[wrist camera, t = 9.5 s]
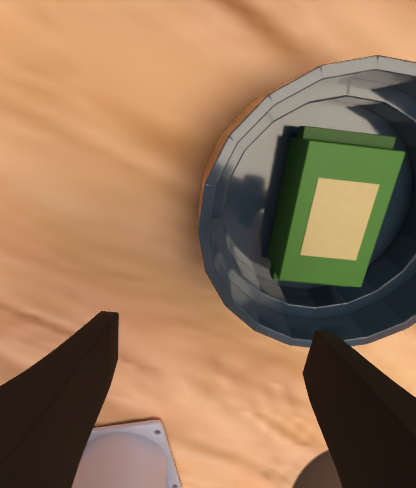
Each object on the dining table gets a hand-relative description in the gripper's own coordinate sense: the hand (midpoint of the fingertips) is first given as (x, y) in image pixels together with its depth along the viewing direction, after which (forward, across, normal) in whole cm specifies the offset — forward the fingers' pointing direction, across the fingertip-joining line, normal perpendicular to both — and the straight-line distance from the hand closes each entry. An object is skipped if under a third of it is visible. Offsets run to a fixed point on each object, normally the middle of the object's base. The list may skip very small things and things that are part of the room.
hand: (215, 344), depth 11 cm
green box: (+9, -6, -4) cm, 11 cm away
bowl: (+9, -6, -4) cm, 12 cm away
